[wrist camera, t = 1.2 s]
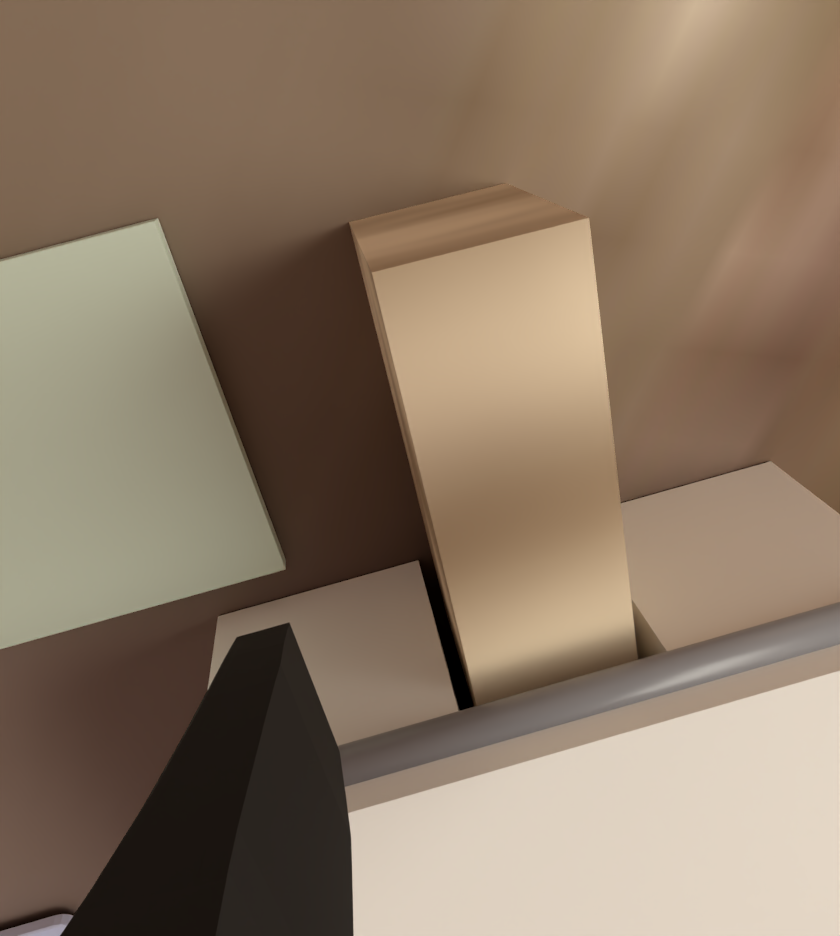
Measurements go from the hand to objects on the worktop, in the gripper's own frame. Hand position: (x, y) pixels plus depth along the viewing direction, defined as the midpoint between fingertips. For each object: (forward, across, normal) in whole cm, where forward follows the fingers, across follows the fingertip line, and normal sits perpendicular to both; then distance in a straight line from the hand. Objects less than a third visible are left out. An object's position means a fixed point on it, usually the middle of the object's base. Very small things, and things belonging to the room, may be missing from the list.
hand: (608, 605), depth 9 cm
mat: (+9, +11, 0) cm, 14 cm away
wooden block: (+9, 0, +2) cm, 9 cm away
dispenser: (+9, 0, +10) cm, 13 cm away
